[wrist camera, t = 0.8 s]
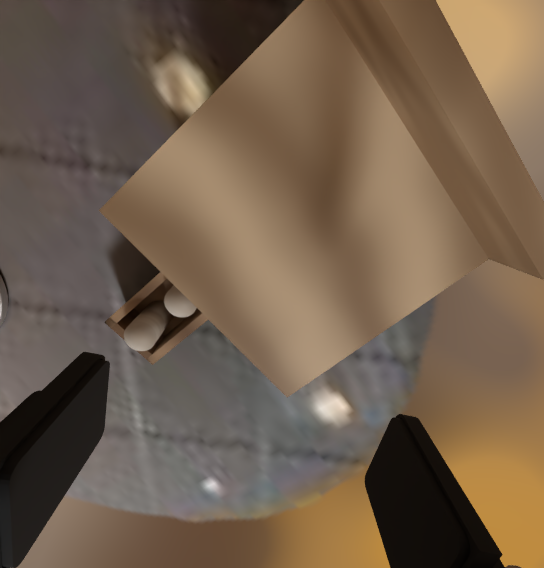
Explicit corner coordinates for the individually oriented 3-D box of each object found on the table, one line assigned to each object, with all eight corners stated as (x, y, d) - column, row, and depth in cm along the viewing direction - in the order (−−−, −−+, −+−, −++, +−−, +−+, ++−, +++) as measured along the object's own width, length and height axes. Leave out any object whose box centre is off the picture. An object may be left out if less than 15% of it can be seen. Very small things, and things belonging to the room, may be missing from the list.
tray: (167, 341, 34) (146, 374, 29) (126, 303, 33) (95, 330, 27) (233, 286, 32) (225, 310, 27) (192, 243, 31) (174, 258, 25)
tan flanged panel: (279, 290, 32) (290, 442, 14) (191, 192, 29) (52, 219, 11) (385, 207, 30) (574, 259, 11) (301, 87, 26) (370, -120, 8)
